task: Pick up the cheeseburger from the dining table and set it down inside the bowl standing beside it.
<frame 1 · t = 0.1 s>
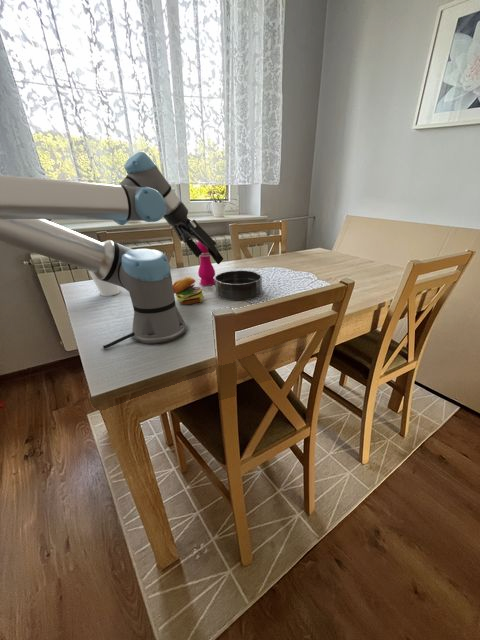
hand: (209, 258, 106), 15 cm above the table, tool tilted 35°, fingers open, 13 cm apart
pepper mill: (207, 283, 129), on the table
bowl: (239, 292, 119), on the table
cheeseburger: (189, 301, 111), on the table
cup: (110, 293, 119), on the table
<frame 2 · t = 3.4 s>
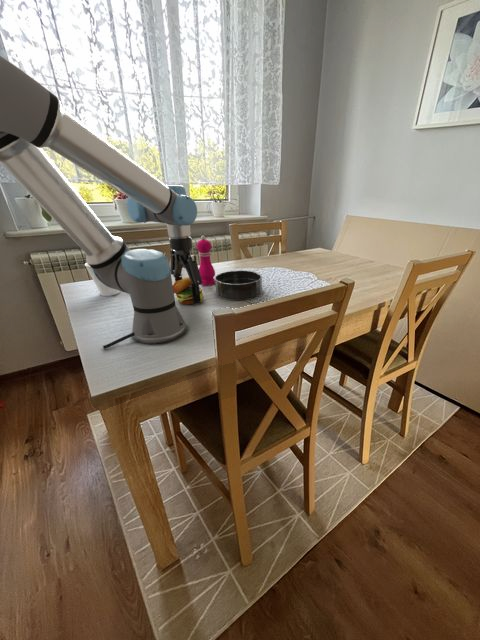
hand: (188, 297, 111), 1 cm above the table, tool pointing down, fingers closed on cheeseburger, 11 cm apart
cheeseburger: (189, 301, 111), on the table, touching gripper
everything else where it was.
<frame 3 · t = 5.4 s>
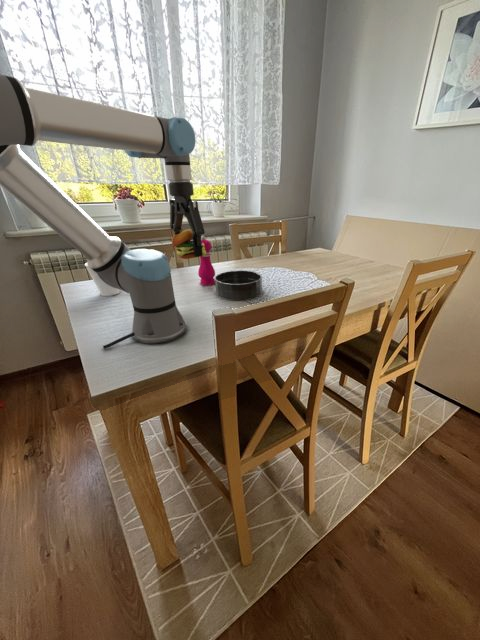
hand: (189, 253, 103), 17 cm above the table, tool pointing down, fingers closed on cheeseburger, 11 cm apart
cheeseburger: (190, 257, 104), point 16 cm above the table, touching gripper
everything else where it was.
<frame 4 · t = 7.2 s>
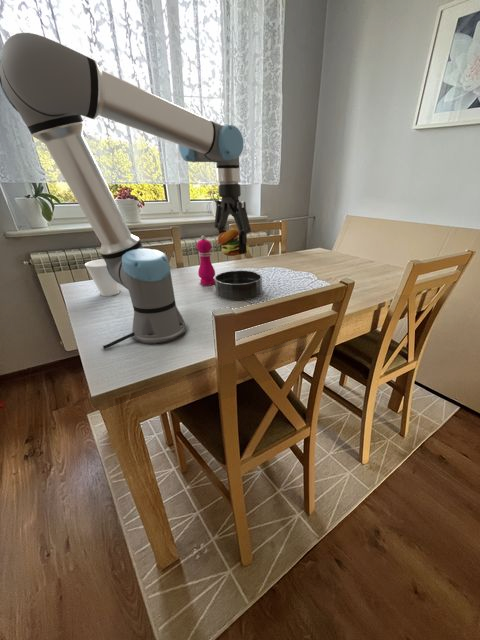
hand: (233, 250, 110), 17 cm above the table, tool pointing down, fingers closed on cheeseburger, 11 cm apart
cheeseburger: (233, 254, 110), point 15 cm above the table, touching gripper
everything else where it was.
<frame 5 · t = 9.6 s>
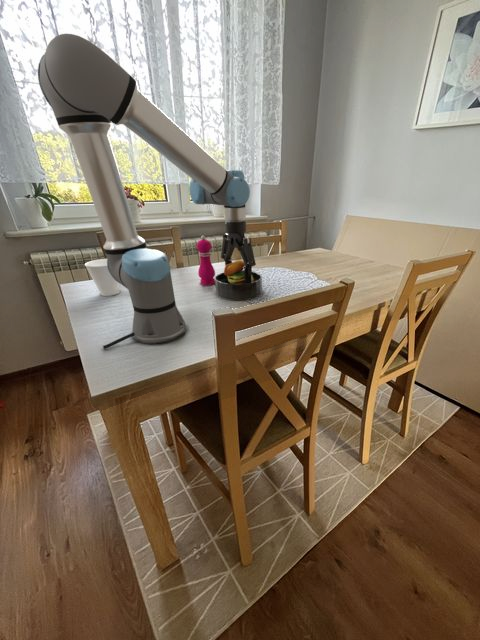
hand: (238, 280, 116), 5 cm above the table, tool pointing down, fingers closed on cheeseburger, 11 cm apart
cheeseburger: (239, 283, 117), point 4 cm above the table, touching gripper
everything else where it was.
when the fingers open (2 cm above the table, at t = 11.3 s): cheeseburger stays where it is, resting on bowl.
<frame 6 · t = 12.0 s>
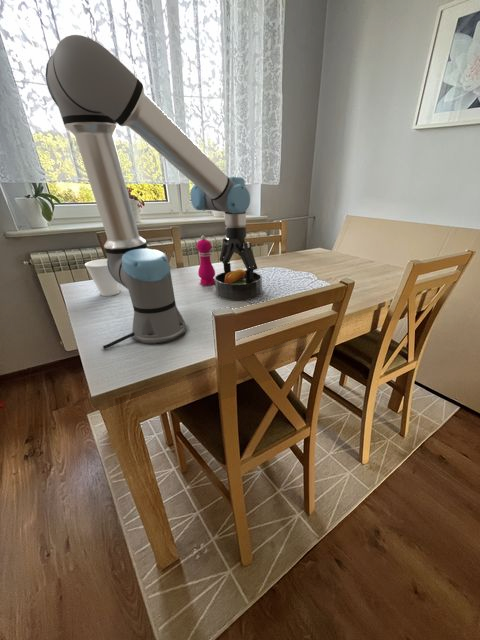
hand: (238, 283, 117), 4 cm above the table, tool pointing down, fingers open, 13 cm apart
cheeseburger: (239, 291, 118), resting on bowl
everything else where it was.
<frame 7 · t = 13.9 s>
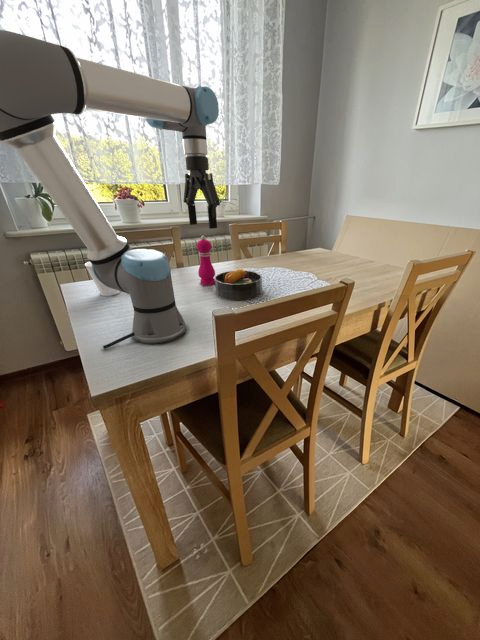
hand: (203, 226, 106), 25 cm above the table, tool pointing down, fingers open, 13 cm apart
nothing on the table moved.
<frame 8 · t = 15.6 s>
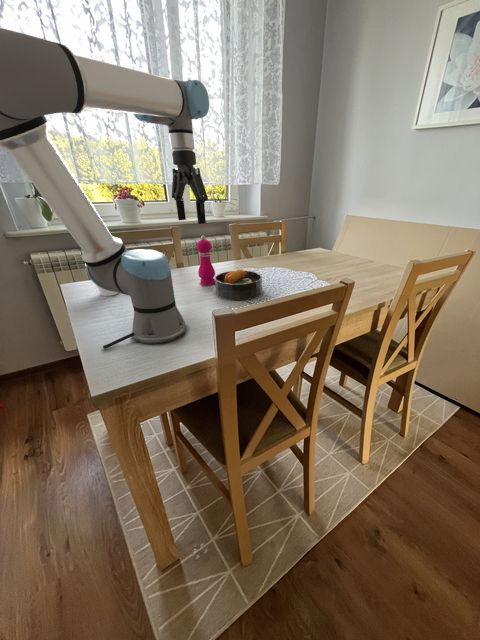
hand: (191, 221, 105), 27 cm above the table, tool pointing down, fingers open, 13 cm apart
nothing on the table moved.
at the end: cheeseburger inside the target area in the bowl (0.3 cm from its centre), point 0.4 cm above the bowl's base; cheeseburger tilted 0°; the gripper is holding nothing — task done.
